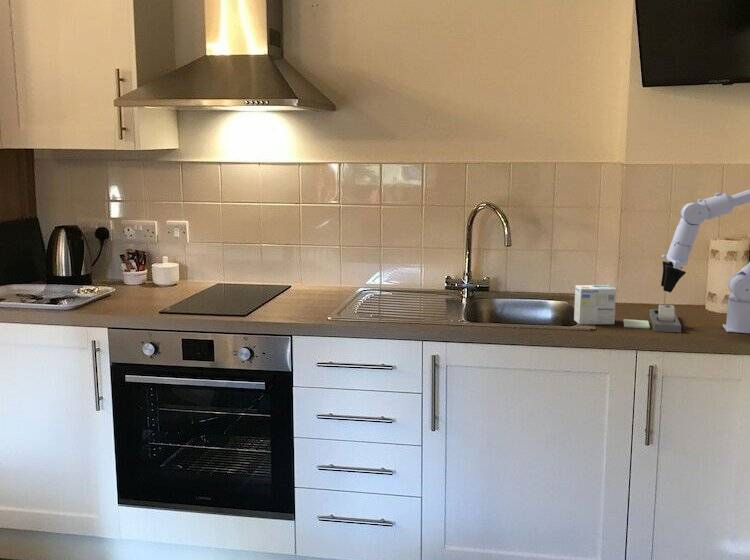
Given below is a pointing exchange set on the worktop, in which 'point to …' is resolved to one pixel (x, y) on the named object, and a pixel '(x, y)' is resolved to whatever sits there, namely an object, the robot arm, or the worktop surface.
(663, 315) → the white block
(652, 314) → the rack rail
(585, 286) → the light bulb box
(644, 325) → the mat
